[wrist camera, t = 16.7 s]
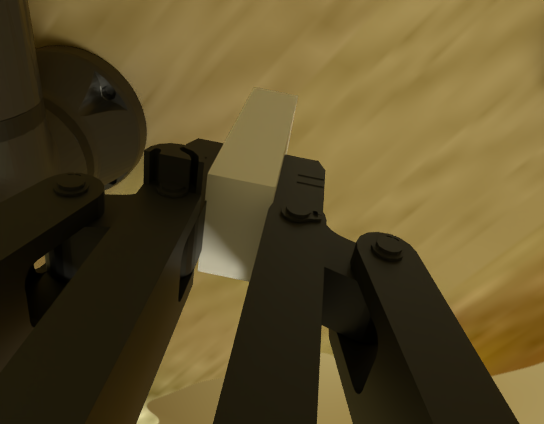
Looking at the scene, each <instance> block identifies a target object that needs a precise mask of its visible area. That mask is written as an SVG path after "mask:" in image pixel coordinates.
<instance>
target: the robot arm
mask: <svg viewBox="0 0 544 424" xmlns="http://www.w3.org/2000/svg"><path fill="white" fill-rule="evenodd" d="M297 98H298V96H297V95H292V94H287V93H282V92H277V91H272V90H267V89H262V88H256V87H254V88H253V90H252V92H251V94H250V96H249V97H248V99H247V101H246V103H245V105H244V107H243V109H242V110H241V112H240V114H239V116H238V118H237V120H236V122H235V124H234V125H233V127H232V129H231V131H230V133H229V135H228V137H227V138H226V140H225V142H224V143H219V142H214V141H209V140H204V139H199V138H198V139H196V140H194V141H192V142H190V143H188V144H186V145H182V144H173V143H167V144H158V145H154V146H150V147H149V148H147V149H146V150H144V149H145V144H146V136H147V130H146V121H145V117H144V113H143V110H142V107H141V104H140V102H139V100H138V98H137V96H136V94H135V92H134V91H133V89H132V88H131V86H130V85H129V84H128V82H127V81H126V80H125V79H124V77H123V76H122V75H121V74H120V73H119V72H118V71H117V70H116V69H114V68H113V67H112V66H111V65H110V64H108V63H107V62H105V61H104V60H102V59H101V58H99V57H97V56H96V55H94V54H92V53H89V52H87V51H84V50H82V49H78V48H74V47H69V46H47V47H42V48H39V49H36V50H35V44H34V37H33V31H32V25H31V18H30V12H29V6H28V0H0V424H136V423H137V420H138V418H139V415H140V413H141V410H142V408H143V405H144V403H145V401H146V398H147V396H148V393H149V391H150V388H151V386H152V383H153V381H154V378H155V376H156V373H157V371H158V369H159V366H160V364H161V361H162V359H163V356H164V354H165V351H166V349H167V346H168V344H169V342H170V339H171V337H172V334H173V332H174V329H175V327H176V324H177V322H178V319H179V317H180V314H181V312H182V310H183V307H184V305H185V302H186V300H187V297H188V295H189V292H190V290H191V287H192V285H193V276H194V268H195V265H196V263H197V261H198V258H199V264H198V271H200V272H205V273H210V274H215V275H220V276H225V277H229V278H234V279H239V280H244V281H249V286H248V290H247V294H246V297H245V301H244V305H243V309H242V313H241V317H240V321H239V325H238V328H237V332H236V336H235V340H234V344H233V348H232V352H231V356H230V359H229V363H228V367H227V371H226V375H225V379H224V383H223V387H222V391H221V394H220V398H219V402H218V406H217V410H216V414H215V418H214V422H213V424H317V406H318V386H319V366H320V345H321V325H323V326H325V327H327V328H329V340H330V343H331V347H332V350H333V354H334V358H335V360H336V365H337V368H338V372H339V375H340V379H341V382H342V386H343V389H344V393H345V397H346V401H347V404H348V408H349V411H350V415H351V418H352V422H353V424H519V422H518V421H517V419H516V418H515V416H514V414H513V412H512V411H511V409H510V408H509V406H508V404H507V403H506V401H505V399H504V397H503V396H502V394H501V392H500V391H499V389H498V388H497V386H496V384H495V382H494V381H493V379H492V377H491V376H490V374H489V372H488V371H487V369H486V367H485V366H484V364H483V362H482V361H481V359H480V357H479V356H478V354H477V352H476V351H475V349H474V347H473V346H472V344H471V342H470V341H469V339H468V337H467V335H466V334H465V332H464V330H463V329H462V327H461V325H460V324H459V322H458V320H457V319H456V317H455V315H454V314H453V312H452V310H451V309H450V307H449V305H448V304H447V302H446V300H445V299H444V297H443V295H442V294H441V292H440V290H439V289H438V287H437V285H436V284H435V282H434V280H433V279H432V277H431V275H430V274H429V272H428V270H427V269H426V267H425V265H424V264H423V262H422V260H421V259H420V257H419V255H418V254H417V252H416V251H415V250H414V249H413V248H412V246H411V245H410V244H408V243H407V242H405V241H403V240H402V239H400V238H399V237H396V236H393V235H391V234H387V233H380V232H371V233H366V234H364V235H361V236H360V237H359V239H358V240H357V242H356V243H355V242H353V241H350V240H348V239H346V238H344V237H342V236H340V235H338V234H336V233H335V232H333V231H332V230H331V229H330V228H329V227H328V226H327V225H326V217H325V214H324V213H323V202H324V184H325V169H324V168H323V167H322V165H321V164H320V162H319V161H315V160H310V159H305V158H300V157H295V156H290V155H287V149H288V144H289V139H290V134H291V129H292V124H293V119H294V114H295V108H296V103H297ZM143 152H144V184H143V185H142V187H141V188H140V189H139V191H138V192H137V193H136V194H132V195H107V194H105V192H104V190H106V189H109V188H111V187H113V186H115V185H117V184H118V183H120V182H121V181H122V180H123V179H125V178H126V177H127V176H128V174H129V173H130V172H131V171H132V170H133V169H134V168H135V166H136V165H137V164H138V162H139V161H140V159H141V157H142V154H143ZM44 255H45V261H46V263H45V264H44V265H42V266H41V267H40V268H37V269H35V268H34V263H35V262H36V261H37V260H38V259H40V258H41V257H43V256H44Z"/></svg>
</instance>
